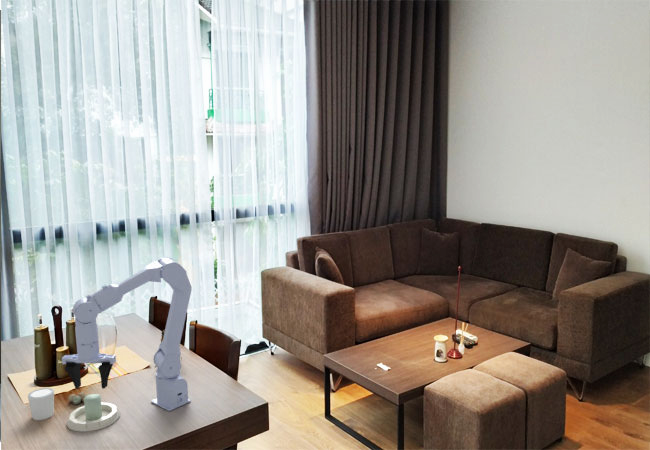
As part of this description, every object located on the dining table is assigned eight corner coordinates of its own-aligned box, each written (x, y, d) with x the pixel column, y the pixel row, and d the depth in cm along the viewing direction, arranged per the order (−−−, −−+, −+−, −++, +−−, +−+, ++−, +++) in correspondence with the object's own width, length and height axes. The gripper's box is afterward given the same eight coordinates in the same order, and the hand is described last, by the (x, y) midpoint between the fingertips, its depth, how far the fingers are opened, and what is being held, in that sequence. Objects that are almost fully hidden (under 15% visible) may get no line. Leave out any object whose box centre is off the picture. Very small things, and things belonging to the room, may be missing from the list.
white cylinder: (49, 407, 168) (47, 385, 166) (60, 414, 163) (58, 391, 162) (25, 416, 162) (23, 393, 161) (36, 423, 158) (34, 400, 157)
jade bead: (105, 413, 162) (103, 394, 161) (97, 421, 158) (95, 401, 157) (90, 413, 162) (89, 393, 162) (82, 420, 158) (80, 400, 157)
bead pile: (92, 401, 171) (91, 394, 170) (76, 408, 167) (76, 400, 167) (82, 396, 174) (81, 389, 174) (66, 402, 171) (66, 394, 170)
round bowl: (129, 417, 161) (128, 410, 161) (82, 437, 150) (82, 430, 150) (103, 403, 170) (103, 396, 170) (58, 421, 159) (57, 414, 159)
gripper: (118, 336, 160) (122, 380, 162) (68, 336, 161) (72, 381, 163) (108, 345, 153) (112, 391, 155) (56, 345, 154) (60, 392, 156)
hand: (91, 387), depth 159 cm, fingers open, 7 cm apart
